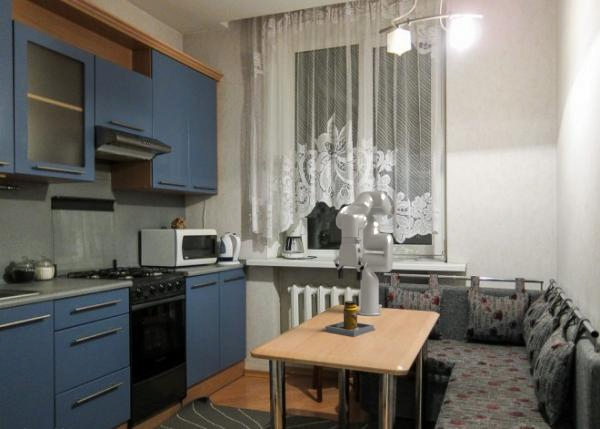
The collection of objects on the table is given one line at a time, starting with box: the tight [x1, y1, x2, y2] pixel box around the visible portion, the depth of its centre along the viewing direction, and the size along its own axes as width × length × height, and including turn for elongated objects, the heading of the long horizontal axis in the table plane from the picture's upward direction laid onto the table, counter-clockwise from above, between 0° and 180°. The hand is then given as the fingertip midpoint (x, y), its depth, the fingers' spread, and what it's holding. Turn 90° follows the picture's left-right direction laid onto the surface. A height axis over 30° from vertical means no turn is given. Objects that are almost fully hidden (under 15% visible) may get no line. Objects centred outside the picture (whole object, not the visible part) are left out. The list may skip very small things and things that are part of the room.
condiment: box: [337, 300, 358, 330], centre depth 221 cm, size 7×8×12 cm
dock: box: [323, 320, 376, 338], centre depth 220 cm, size 17×16×2 cm
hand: (350, 279), depth 222 cm, fingers open, 9 cm apart
